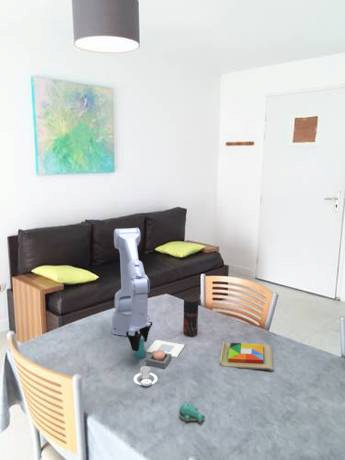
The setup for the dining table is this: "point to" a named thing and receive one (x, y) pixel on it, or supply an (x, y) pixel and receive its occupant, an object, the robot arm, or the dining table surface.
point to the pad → (166, 347)
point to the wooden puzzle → (247, 356)
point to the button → (159, 355)
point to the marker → (140, 349)
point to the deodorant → (190, 316)
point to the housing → (156, 363)
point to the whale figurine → (190, 413)
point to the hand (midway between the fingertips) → (139, 345)
